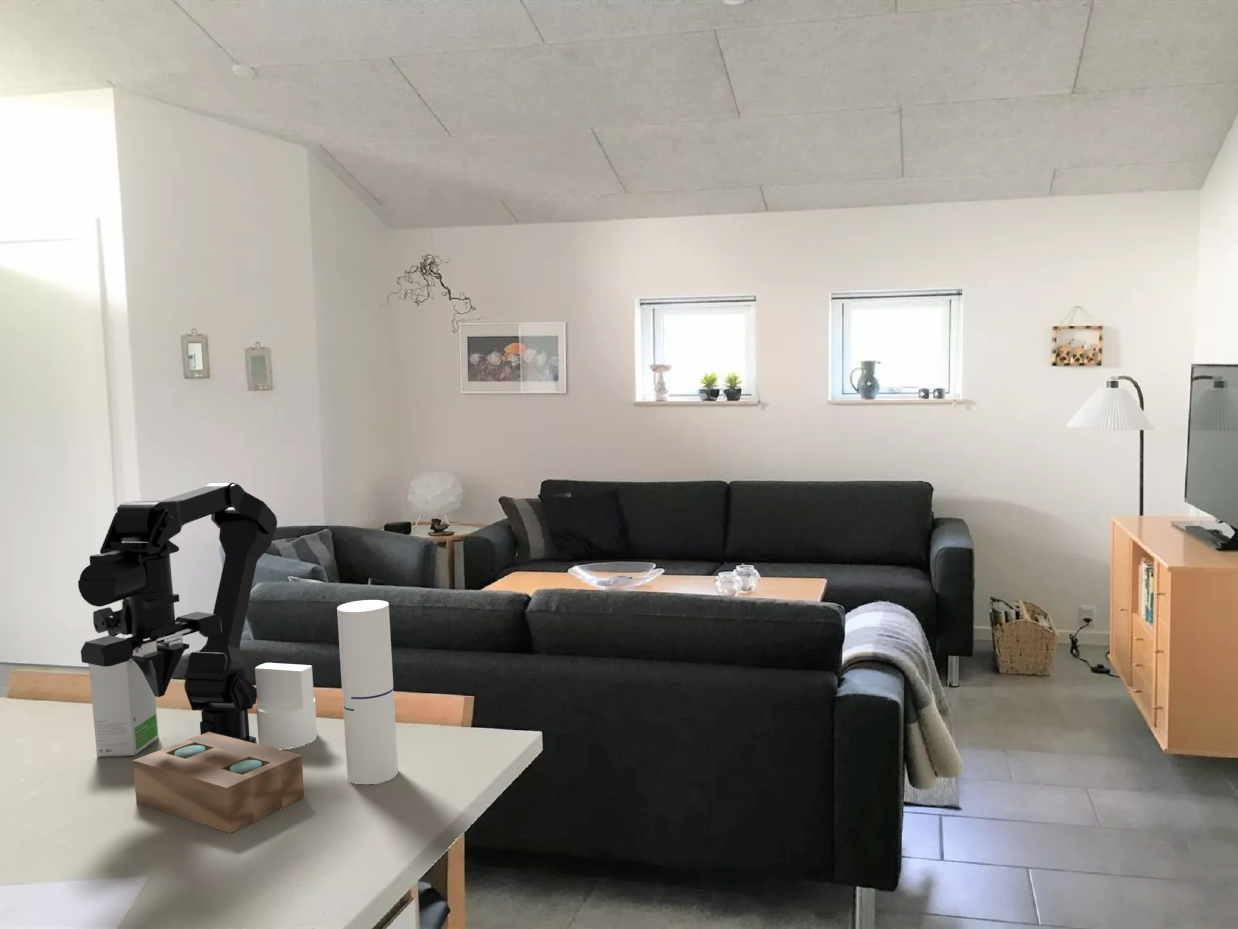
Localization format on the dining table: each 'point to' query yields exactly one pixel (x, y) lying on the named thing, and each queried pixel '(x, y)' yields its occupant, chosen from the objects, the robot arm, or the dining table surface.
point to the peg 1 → (189, 751)
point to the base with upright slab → (285, 705)
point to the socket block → (219, 781)
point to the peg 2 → (245, 766)
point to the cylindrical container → (367, 691)
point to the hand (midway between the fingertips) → (159, 696)
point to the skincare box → (122, 709)
